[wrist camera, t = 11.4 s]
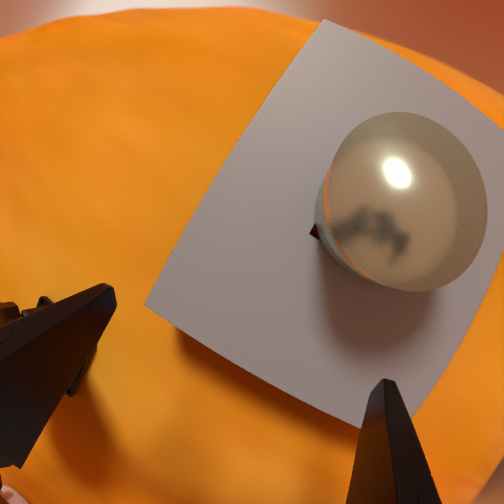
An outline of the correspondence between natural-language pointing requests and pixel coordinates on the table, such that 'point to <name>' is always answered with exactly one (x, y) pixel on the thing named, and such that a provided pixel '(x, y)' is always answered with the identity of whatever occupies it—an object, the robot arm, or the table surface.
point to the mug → (12, 495)
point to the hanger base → (311, 250)
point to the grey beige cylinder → (402, 204)
